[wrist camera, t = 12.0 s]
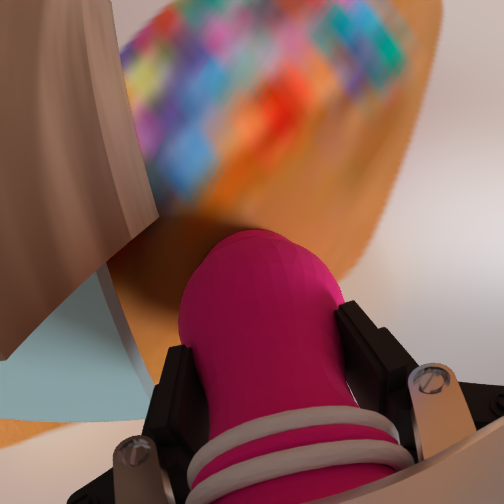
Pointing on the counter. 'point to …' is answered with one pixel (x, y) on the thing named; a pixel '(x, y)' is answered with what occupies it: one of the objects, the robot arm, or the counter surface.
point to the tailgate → (78, 363)
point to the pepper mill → (276, 380)
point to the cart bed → (62, 157)
